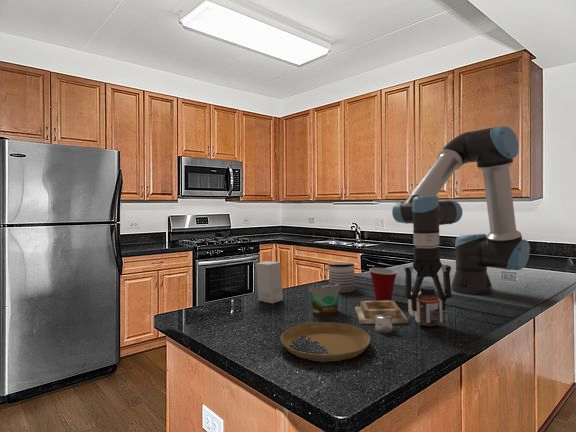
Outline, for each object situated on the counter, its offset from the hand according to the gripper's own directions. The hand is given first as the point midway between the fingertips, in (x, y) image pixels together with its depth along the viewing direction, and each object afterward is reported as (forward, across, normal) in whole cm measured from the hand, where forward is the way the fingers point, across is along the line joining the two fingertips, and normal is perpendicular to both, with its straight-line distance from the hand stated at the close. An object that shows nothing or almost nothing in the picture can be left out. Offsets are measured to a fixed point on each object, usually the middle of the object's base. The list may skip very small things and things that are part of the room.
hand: (428, 320), depth 116 cm
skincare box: (+1, -53, +32) cm, 62 cm away
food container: (+2, -30, +14) cm, 33 cm away
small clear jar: (+1, -14, -3) cm, 15 cm away
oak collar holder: (+1, -13, +10) cm, 16 cm away
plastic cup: (+2, -8, +30) cm, 31 cm away
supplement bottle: (+1, 0, 0) cm, 1 cm away
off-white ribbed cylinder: (+2, -23, +49) cm, 54 cm away
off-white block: (+2, 0, +12) cm, 12 cm away
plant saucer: (+2, -32, -16) cm, 36 cm away
